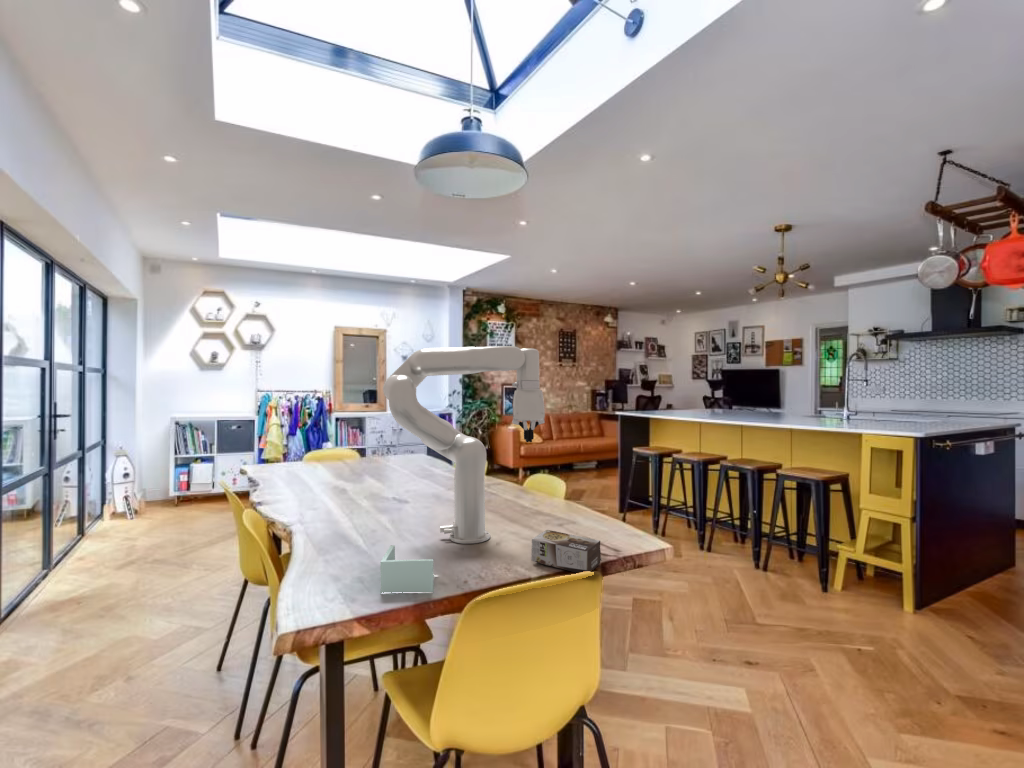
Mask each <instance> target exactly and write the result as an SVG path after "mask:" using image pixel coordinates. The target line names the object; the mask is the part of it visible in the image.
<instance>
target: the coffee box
mask: <svg viewBox="0 0 1024 768" xmlns="http://www.w3.org/2000/svg"><path fill="white" fill-rule="evenodd" d="M530 559H531V561H532V562H534V563H538V564H541V565H545V566H549V567H553V568H558V569H561V570H565V571H569V572H572V573H576V572H583V571H591V570H593V571H594V570H595V569H596V568H597V567H598V566H599V565H600V564H601V560H602V557H601V540H599V539H595V538H590V537H589V538H588V537H584V536H580V535H574V534H569V533H565V532H561V531H555V530H550V529H546V530H545V531H543V532H541V533H539V534H538V535H536V536H535V537H533V538H531V557H530ZM600 559H601V560H600Z"/></svg>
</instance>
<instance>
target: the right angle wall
mask: <svg viewBox="0 0 1024 768" xmlns="http://www.w3.org/2000/svg"><path fill="white" fill-rule="evenodd" d="M379 566H380V567H379V568H380V569H379V570H380V572H379V573H380V575H379V576H380V580H379V581H380V594H381V593H382V592H383V593H384V592H391V593H392V592H402V593H403V592H433V591H434V589H435V588H434V586H435V585H434V580H435V579H434V578H435V577H434V575H433V574H434V559H433V558H431V559H430V558H429V559H425V558H424V559H420V558H419V559H396V545H394V544H393V545H390V546H389V547H388V549H387V550H386V552H385V554H384V555H383V557H382V558H381V560H380V563H379ZM433 593H434V592H433Z"/></svg>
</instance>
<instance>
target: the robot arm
mask: <svg viewBox="0 0 1024 768" xmlns="http://www.w3.org/2000/svg"><path fill="white" fill-rule="evenodd" d="M498 371H501V372H509V371H516V381H515V382H512V383H511V385H512V386H511V387H512V388H516V390H514V394H513V399H512V400H513V401H512V421H511V423H512V424H513V425H517V426H519V427H521V428H522V430H523V440H524V441H525V443H533V440H534V430H535V429H536V428H537V426H538V425H539V426H540V425H542V424H545V423H546V422H545V416H546V414H545V413H546V410H545V401H544V393H543V390H542V389H540V351H539V350H538V349H537V348H520V347H518V346H515V345H512V346H509V345H508V346H507V345H506V346H505V345H504V346H502V345H501V346H476V347H475V346H459V347H457V346H456V347H426V348H421V349H418V350H416V351H414V352H413V353H412V354H411V355H409V357H408V358H407V359H406V360H405V361H404V362H403V363H401V365H399V367H397V369H396V370H395V371H394V372H393V373H392V374H390V376H389V377H387V378H386V380H385V381H384V383H383V386H382V391H383V395H384V396H385V398H386V399H387V400H388V407H389V411H390V413H391V415H392V417H393V419H394V421H396V423H397V424H398V425H399V426H401V427H402V428H404V429H405V430H406V431H408V432H409V433H410V434H413V436H415V437H417V438H418V439H419V440H420V441H421V442H422V444H424V445H425V446H426V447H428V448H430V449H431V450H433V451H435V452H436V453H438V454H439V455H441V456H443V457H445V458H446V459H448V460H450V461H451V462H454V463H455V468H454V469H455V470H454V475H453V476H454V479H453V490H454V491H453V492H454V494H453V495H454V497H453V498H454V500H453V501H454V502H453V503H454V506H453V507H454V521H452V522H453V523H452V524H450V525H440V526H439V532H440V533H443V534H444V535H445V534H449V540H450V541H452V542H453V543H456V544H463V545H467V544H468V545H469V544H471V545H472V544H478V543H484V542H486V541H488V540H489V539H491V533H490V532H489V531H487V530H486V506H485V505H486V502H485V500H486V498H485V497H486V495H485V494H486V493H485V492H486V491H485V490H486V489H485V482H486V481H485V478H486V477H485V474H486V464H487V449H486V447H485V445H484V444H483V442H482V441H481V440H480V439H478V438H476V437H475V436H474V437H473V436H470V435H469V436H468V435H466V434H464V433H462V432H461V431H459V430H458V429H456V428H455V427H454V426H453V424H452V423H451V422H449V421H448V420H445V419H443V418H441V417H440V416H438V415H436V414H435V413H433V412H431V411H430V410H429V409H428V408H426V407H425V406H423V405H422V404H421V403H420V402H419V400H418V397H417V387H418V386H419V385H421V383H422V382H423V381H425V379H426V377H430V376H432V377H437V376H453V375H454V376H455V375H456V376H457V375H470V374H471V375H472V374H473V375H474V374H478V373H484V372H498ZM528 422H529V427H528Z"/></svg>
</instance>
